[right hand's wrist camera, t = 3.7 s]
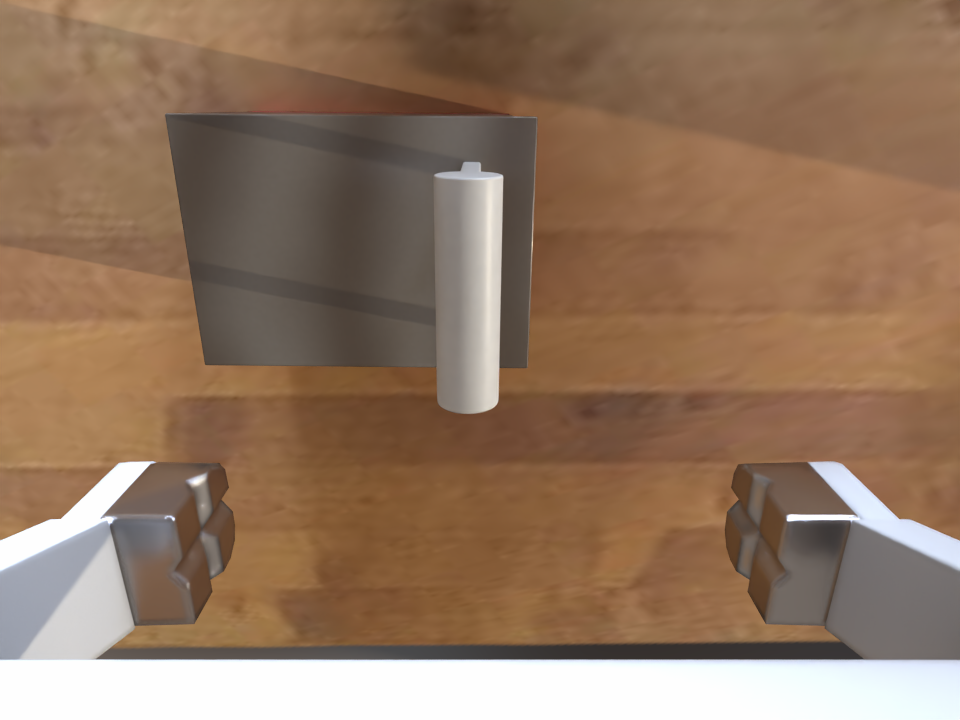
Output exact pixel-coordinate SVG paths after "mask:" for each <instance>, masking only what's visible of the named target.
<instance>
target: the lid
mask: <svg viewBox="0 0 960 720" xmlns="http://www.w3.org/2000/svg"><path fill="white" fill-rule="evenodd" d="M165 116H166V122H167V129H168V135H169V141H170V147H171V154H172V160H173V166H174V173H175V179H176V185H177V191H178V198H179V204H180V210H181V216H182V223H183V229H184V235H185V241H186V248H187V254H188V260H189V266H190V273H191V279H192V285H193V291H194V298H195V304H196V310H197V316H198V323H199V329H200V335H201V341H202V348H203V354H204V360H205V365H255V366H357V367H437V401H438V404H439V405H440V406H441V407H442V408H444V409H445V410H448V411H451V412H455V413H461V414H475V413H481V412H485V411H488V410H490V409H492V408H494V407H495V406H496V405H497V403H498V397H499V368H528V350H529V324H530V299H531V274H532V248H533V223H534V197H535V172H536V147H537V121H538V118H537V117H522V116H419V115H317V114H214V113H166V114H165Z"/></svg>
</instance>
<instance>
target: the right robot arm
mask: <svg viewBox="0 0 960 720" xmlns="http://www.w3.org/2000/svg"><path fill="white" fill-rule="evenodd" d="M228 488H229V486H228V481H227V476H226V472H225V469H224V468H223V467H222V466H221V464H220V463H185V462H157V463H156V462H154V461H150V462H124V463H119V464H118V465H117V466H116V467H114V468H113V469H112V470H111V471H110V472H109V473H108V474H107V475H106V476H105V477H104V478H103V479H102V480H101V481H100V482H99V483H98V484H97V485H96V486H95V487H94V488H93V489H92V490H91V491H90V492H89V493H88V494H87V495H86V496H84V497H83V498H82V499H81V500H80V501H79V502H78V503H77V504H76V505H75V506H74V507H73V508H72V509H71V510H70V511H69V512H68V513H67V514H66V515H65V516H64V517H63V518H62V519H50V520H48V521H45V522H43V523H41V524H38V525H36V526H34V527H31V528H29V529H27V530H24V531H22V532H20V533H17V534H15V535H13V536H10V537H8V538H6V539H3V540H1V541H0V720H960V541H959V540H957V539H954V538H952V537H950V536H947V535H945V534H943V533H940V532H938V531H936V530H933V529H931V528H929V527H926V526H924V525H922V524H919V523H917V522H915V521H912V520H910V519H898V518H897V517H896V516H895V515H894V514H893V513H892V512H891V511H890V510H889V509H888V508H887V507H886V506H885V505H884V504H883V503H882V502H881V501H880V500H879V499H878V498H877V497H876V496H875V495H874V494H873V493H872V492H870V491H869V490H868V489H867V488H866V487H865V486H864V485H863V484H862V483H861V482H860V481H859V480H858V479H857V478H856V477H855V476H854V475H853V474H852V473H851V472H850V471H849V470H848V469H847V468H846V467H845V466H844V465H843V464H840V463H837V462H835V461H827V462H793V463H753V464H738V466H737V468H736V470H735V472H734V475H733V480H732V486H731V488H732V490H733V491H734V493H735V494H736V496H737V497H738V499H739V500H738V501H737V502H736V503H735V504H734V505H733V506H732V507H731V508H730V509H729V510H728V511H727V517H726V525H725V538H726V548H727V551H728V554H729V557H730V560H731V562H732V564H733V566H734V568H735V570H736V571H737V572H738V573H740V574H741V575H743V576H744V577H746V578H748V579H749V580H750V581H749V587H748V593H749V595H750V597H751V599H752V600H753V602H754V604H755V606H756V607H757V609H758V611H759V613H760V615H761V616H762V618H763V620H764V622H765V623H766V624H781V625H818V626H825V629H826V630H828V631H829V632H830V633H832V634H833V635H834V636H835V637H837V638H838V639H839V640H841V641H842V642H843V643H844V644H846V645H847V646H848V647H850V648H851V649H852V650H854V651H855V652H856V653H858V654H859V655H860V656H861V657H863V658H864V659H865V660H95V659H96V658H97V657H99V656H100V655H101V654H103V653H104V652H105V651H107V650H108V649H109V648H111V647H112V646H113V645H114V644H116V643H117V642H118V641H120V640H121V639H122V638H124V637H125V636H126V635H127V634H129V633H130V632H131V631H133V630H134V629H135V626H142V625H178V624H194V623H195V622H196V620H197V618H198V616H199V615H200V613H201V611H202V609H203V607H204V606H205V604H206V602H207V600H208V599H209V597H210V595H211V593H212V587H211V581H210V580H211V579H212V578H214V577H216V576H217V575H219V574H220V573H222V572H223V571H224V570H225V568H226V566H227V564H228V562H229V560H230V558H231V554H232V550H233V545H234V541H235V523H234V516H233V511H232V510H231V509H230V508H229V507H228V506H227V505H226V504H225V503H224V502H223V501H222V500H221V499H222V497H223V496H224V494H225V493H226V491H227V490H228Z"/></svg>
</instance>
